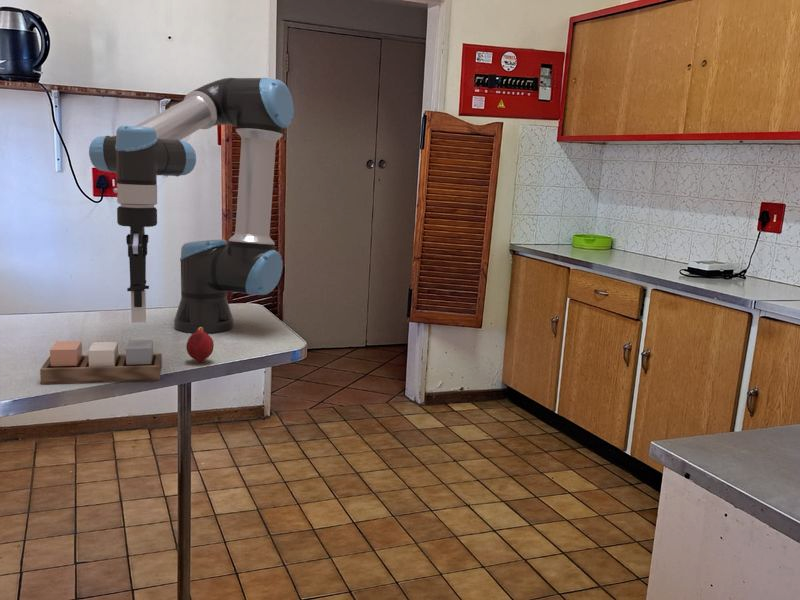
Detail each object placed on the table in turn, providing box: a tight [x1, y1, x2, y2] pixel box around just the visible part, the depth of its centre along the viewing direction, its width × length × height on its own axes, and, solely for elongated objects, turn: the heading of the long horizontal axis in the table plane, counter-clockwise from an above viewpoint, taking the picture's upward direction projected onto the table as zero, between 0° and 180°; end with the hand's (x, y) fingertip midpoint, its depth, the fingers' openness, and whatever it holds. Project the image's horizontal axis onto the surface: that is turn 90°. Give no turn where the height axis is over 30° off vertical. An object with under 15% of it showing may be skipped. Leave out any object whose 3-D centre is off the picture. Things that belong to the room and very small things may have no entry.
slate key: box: [125, 339, 154, 365], centre depth 153 cm, size 5×7×3 cm
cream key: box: [87, 341, 119, 367], centre depth 151 cm, size 5×7×3 cm
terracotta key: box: [49, 340, 83, 366], centre depth 149 cm, size 5×7×3 cm
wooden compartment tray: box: [39, 353, 163, 385], centre depth 151 cm, size 22×10×3 cm, turn 105°
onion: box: [185, 327, 215, 363], centre depth 163 cm, size 6×6×8 cm
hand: (138, 321), depth 151 cm, fingers closed
